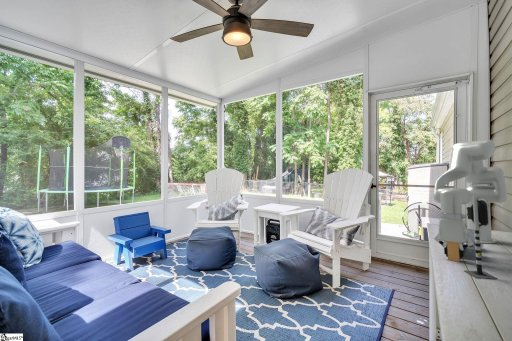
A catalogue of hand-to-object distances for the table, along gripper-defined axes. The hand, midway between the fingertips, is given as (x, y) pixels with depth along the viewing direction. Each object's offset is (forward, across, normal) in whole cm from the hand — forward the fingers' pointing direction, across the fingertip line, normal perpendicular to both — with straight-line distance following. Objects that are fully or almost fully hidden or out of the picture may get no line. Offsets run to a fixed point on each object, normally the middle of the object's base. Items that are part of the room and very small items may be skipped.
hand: (454, 256), depth 109 cm
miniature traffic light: (+2, -10, +14) cm, 17 cm away
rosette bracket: (+1, -3, -18) cm, 18 cm away
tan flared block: (+1, 0, 0) cm, 1 cm away
